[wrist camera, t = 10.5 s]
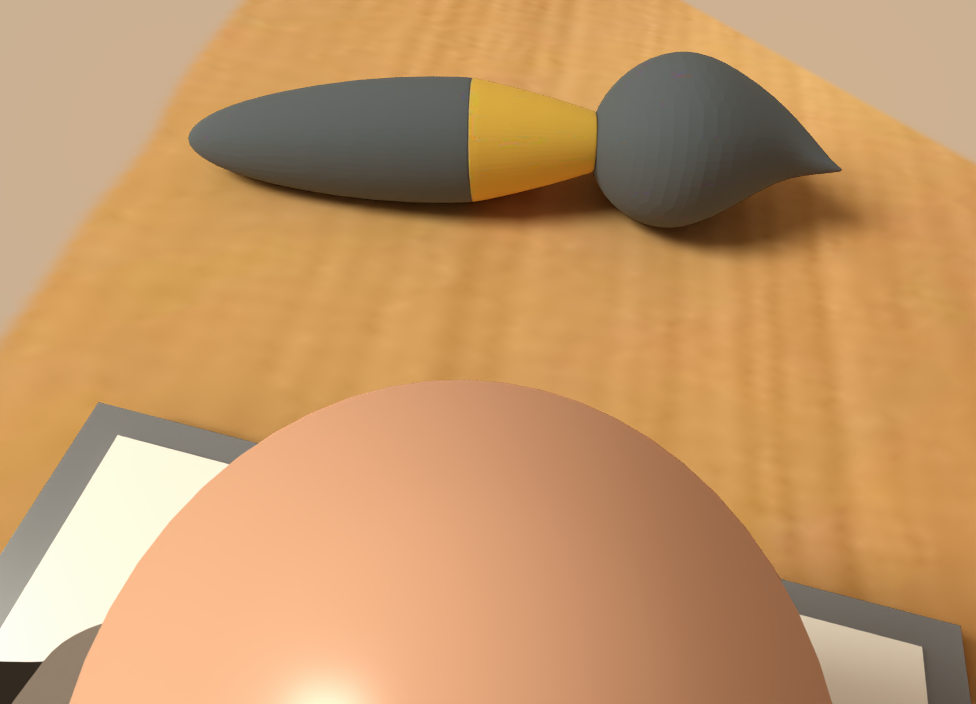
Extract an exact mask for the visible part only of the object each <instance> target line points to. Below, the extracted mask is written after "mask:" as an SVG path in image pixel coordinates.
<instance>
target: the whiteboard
mask: <svg viewBox="0 0 976 704" xmlns="http://www.w3.org/2000/svg"><path fill="white" fill-rule="evenodd" d="M257 444H258V443H254V442H250V441H246V440H242V439H239V438H235V437H231V436H227V435H223V434H219V433H215V432H212V431H208V430H204V429H200V428H196V427H192V426H188V425H185V424H181V423H177V422H173V421H169V420H165V419H161V418H158V417H154V416H150V415H146V414H142V413H138V412H134V411H131V410H127V409H123V408H119V407H115V406H111V405H107V404H104V403H100V402H98V404H97V405H96V407H95V409H94V410H93V412H92V413H91V415H90V416H89V418H88V419H87V421H86V423H85V424H84V426H83V427H82V429H81V430H80V432H79V433H78V435H77V436H76V438H75V440H74V441H73V443H72V444H71V446H70V447H69V449H68V450H67V452H66V454H65V455H64V457H63V458H62V460H61V461H60V463H59V464H58V466H57V468H56V469H55V471H54V472H53V474H52V475H51V477H50V478H49V480H48V482H47V483H46V485H45V486H44V488H43V489H42V491H41V492H40V494H39V495H38V497H37V499H36V500H35V502H34V503H33V505H32V506H31V508H30V509H29V511H28V513H27V514H26V516H25V517H24V519H23V520H22V522H21V523H20V525H19V527H18V528H17V530H16V531H15V533H14V534H13V536H12V537H11V539H10V541H9V542H8V544H7V545H6V547H5V548H4V550H3V551H2V553H1V555H0V661H8V662H40V661H44V660H45V659H46V658H47V657H48V655H49V654H50V653H51V652H52V651H53V650H54V649H55V648H57V647H58V646H59V645H60V644H61V643H63V642H64V641H66V640H67V639H69V638H71V637H72V636H74V635H76V634H78V633H80V632H82V631H84V630H86V629H88V628H91V627H94V626H96V625H99V624H102V623H103V621H104V619H105V617H106V615H107V613H108V611H109V609H110V607H111V605H112V604H113V602H114V601H115V599H116V597H117V596H118V594H119V593H120V591H121V589H122V588H123V586H124V584H125V583H126V581H127V580H128V578H129V576H130V575H131V573H132V571H133V570H134V568H135V567H136V565H137V563H138V562H139V561H140V559H141V558H142V557H143V555H144V554H145V553H146V552H147V550H148V549H149V548H150V546H151V545H152V544H153V542H154V541H155V540H156V539H157V537H158V536H159V535H160V533H161V532H162V531H163V530H164V528H165V527H166V526H167V524H168V523H169V522H170V521H171V520H172V519H173V518H174V517H175V516H176V514H177V513H178V512H179V511H180V510H181V509H182V508H183V507H184V506H185V505H186V504H187V503H188V502H189V501H190V500H191V499H192V498H193V497H194V496H195V495H196V494H197V492H198V491H199V490H200V489H201V488H202V487H203V486H204V485H206V484H207V483H208V482H209V481H210V480H212V479H213V478H214V477H215V476H216V475H217V474H219V473H220V472H221V471H222V470H223V469H225V468H226V467H227V466H228V465H229V464H230V463H232V462H233V461H234V460H235V459H236V458H238V457H239V456H240V455H242V454H243V453H245V452H246V451H248V450H249V449H251V448H252V447H254V446H255V445H257ZM780 580H781V582H782V583H783V585H784V587H785V589H786V591H787V592H788V594H789V596H790V598H791V600H792V602H793V603H794V605H795V607H796V609H797V611H798V612H799V615H800V617H801V619H802V622H803V624H804V627H805V629H806V631H807V634H808V636H809V638H810V641H811V643H812V645H813V648H814V650H815V652H816V655H817V657H818V659H819V662H820V665H821V669H822V672H823V675H824V678H825V682H826V685H827V688H828V691H829V695H830V698H831V701H832V704H971V699H970V692H969V685H968V677H967V670H966V663H965V655H964V648H963V641H962V633H961V626H959V625H955V624H951V623H948V622H944V621H940V620H936V619H932V618H928V617H924V616H921V615H917V614H913V613H909V612H905V611H901V610H897V609H894V608H890V607H886V606H882V605H878V604H874V603H870V602H867V601H863V600H859V599H855V598H851V597H847V596H843V595H840V594H836V593H832V592H828V591H824V590H820V589H817V588H813V587H809V586H805V585H801V584H797V583H793V582H790V581H786V580H782V579H780Z"/></svg>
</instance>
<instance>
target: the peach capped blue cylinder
mask: <svg viewBox="0 0 976 704" xmlns="http://www.w3.org/2000/svg"><path fill="white" fill-rule="evenodd" d="M69 704H832V701H831V698H830V695H829V691H828V688H827V685H826V682H825V678H824V675H823V672H822V669H821V665H820V662H819V659H818V657H817V655H816V652H815V650H814V648H813V645H812V643H811V641H810V638H809V636H808V634H807V631H806V629H805V627H804V624H803V622H802V619H801V617H800V615H799V612H798V611H797V609H796V607H795V605H794V603H793V602H792V600H791V598H790V596H789V594H788V592H787V591H786V589H785V587H784V585H783V583H782V582H781V580H780V578H779V576H778V574H777V573H776V571H775V569H774V567H773V566H772V564H771V563H770V562H769V560H768V559H767V557H766V556H765V554H764V553H763V552H762V550H761V549H760V547H759V546H758V544H757V543H756V542H755V540H754V539H753V537H752V536H751V534H750V533H749V531H748V530H747V529H746V527H745V526H744V525H743V524H742V523H741V522H740V520H739V519H738V518H737V517H736V516H735V515H734V514H733V512H732V511H731V510H730V509H729V508H728V507H727V506H726V504H725V503H724V502H723V501H722V500H721V499H720V497H719V496H718V495H717V494H716V493H715V492H714V491H713V490H712V489H711V488H710V487H709V486H707V485H706V484H705V483H704V482H703V481H702V480H701V479H700V478H699V477H698V476H697V475H696V474H695V473H693V472H692V471H691V470H690V469H689V468H688V467H687V466H686V465H685V464H684V463H682V462H681V461H680V460H678V459H677V458H676V457H674V456H673V455H672V454H670V453H669V452H668V451H666V450H665V449H664V448H662V447H661V446H660V445H658V444H657V443H656V442H654V441H653V440H652V439H650V438H649V437H647V436H645V435H643V434H642V433H640V432H638V431H637V430H635V429H633V428H631V427H630V426H628V425H626V424H625V423H623V422H621V421H620V420H618V419H616V418H614V417H612V416H610V415H608V414H605V413H603V412H601V411H599V410H596V409H594V408H592V407H590V406H587V405H585V404H583V403H581V402H578V401H575V400H572V399H569V398H565V397H562V396H559V395H556V394H553V393H550V392H547V391H543V390H539V389H534V388H529V387H524V386H519V385H514V384H508V383H502V382H489V381H477V380H443V381H425V382H418V383H411V384H405V385H398V386H392V387H387V388H383V389H379V390H376V391H372V392H368V393H364V394H361V395H357V396H353V397H350V398H347V399H345V400H342V401H340V402H337V403H335V404H332V405H330V406H327V407H325V408H322V409H319V410H317V411H314V412H312V413H310V414H308V415H306V416H304V417H303V418H301V419H299V420H297V421H295V422H293V423H291V424H289V425H287V426H285V427H284V428H282V429H280V430H278V431H276V432H274V433H273V434H271V435H270V436H268V437H267V438H265V439H264V440H262V441H261V442H260V443H258V444H257V445H255V446H254V447H252V448H251V449H249V450H248V451H246V452H245V453H243V454H242V455H240V456H239V457H238V458H236V459H235V460H234V461H233V462H232V463H230V464H229V465H228V466H227V467H226V468H225V469H223V470H222V471H221V472H220V473H219V474H217V475H216V476H215V477H214V478H213V479H212V480H210V481H209V482H208V483H207V484H206V485H204V486H203V487H202V488H201V489H200V490H199V491H198V492H197V494H196V495H195V496H194V497H193V498H192V499H191V500H190V501H189V502H188V503H187V504H186V505H185V506H184V507H183V508H182V509H181V510H180V511H179V512H178V513H177V514H176V516H175V517H174V518H173V519H172V520H171V521H170V522H169V523H168V524H167V526H166V527H165V528H164V530H163V531H162V532H161V533H160V535H159V536H158V537H157V539H156V540H155V541H154V542H153V544H152V545H151V546H150V548H149V549H148V550H147V552H146V553H145V554H144V555H143V557H142V558H141V559H140V561H139V562H138V563H137V565H136V567H135V568H134V570H133V571H132V573H131V575H130V576H129V578H128V580H127V581H126V583H125V584H124V586H123V588H122V589H121V591H120V593H119V594H118V596H117V597H116V599H115V601H114V602H113V604H112V605H111V607H110V609H109V611H108V613H107V615H106V617H105V619H104V621H103V623H102V625H101V627H100V629H99V632H98V634H97V636H96V638H95V640H94V642H93V644H92V646H91V648H90V650H89V652H88V654H87V656H86V659H85V661H84V664H83V666H82V669H81V672H80V675H79V678H78V680H77V683H76V686H75V689H74V692H73V694H72V697H71V700H70V703H69Z"/></svg>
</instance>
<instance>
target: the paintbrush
mask: <svg viewBox="0 0 976 704" xmlns="http://www.w3.org/2000/svg"><path fill="white" fill-rule="evenodd" d="M189 143H190V145H191V147H192V148H193V150H194V151H195V152H197V153H198V154H199V155H200V156H202V157H203V158H205V159H206V160H208V161H210V162H211V163H213V164H215V165H217V166H220V167H222V168H224V169H227V170H229V171H232V172H235V173H237V174H240V175H243V176H247V177H250V178H253V179H257V180H261V181H265V182H269V183H273V184H277V185H282V186H286V187H291V188H296V189H301V190H307V191H313V192H319V193H325V194H331V195H338V196H346V197H355V198H363V199H372V200H385V201H400V202H424V203H465V202H472V201H473V202H475V201H482V200H486V199H491V198H496V197H500V196H505V195H510V194H514V193H518V192H522V191H526V190H530V189H534V188H538V187H542V186H547V185H550V184H554V183H557V182H561V181H564V180H568V179H571V178H575V177H578V176H581V175H585V174H588V173H591V172H593V175H594V177H595V179H596V182H597V184H598V185H599V187H600V189H601V190H602V192H603V193H604V195H605V196H606V197H607V198H608V200H609V201H610V202H611V203H612V204H613V205H614V206H615V207H616V208H617V209H619V210H620V211H621V212H623V213H624V214H625V215H627V216H628V217H630V218H632V219H634V220H636V221H638V222H641V223H644V224H647V225H651V226H656V227H667V228H671V227H681V226H685V225H689V224H693V223H697V222H699V221H702V220H705V219H707V218H710V217H712V216H714V215H716V214H718V213H720V212H722V211H724V210H726V209H728V208H730V207H732V206H734V205H735V204H737V203H739V202H741V201H742V200H744V199H746V198H748V197H750V196H751V195H753V194H755V193H757V192H759V191H761V190H763V189H764V188H766V187H768V186H771V185H773V184H775V183H777V182H780V181H783V180H787V179H790V178H795V177H800V176H806V175H813V174H824V173H832V172H839V171H841V170H842V169H841V168H840V167H838V166H837V165H836V164H835V163H834V162H833V161H832V160H831V159H830V158H829V157H828V155H827V154H826V153H825V152H824V151H823V150H822V148H821V147H820V146H819V145H818V144H817V142H816V141H815V140H814V139H813V137H812V136H811V135H810V134H809V133H808V132H807V131H806V129H805V128H804V127H803V126H802V125H801V124H800V123H799V121H798V120H797V119H796V118H795V117H794V116H793V115H792V114H791V113H790V112H789V111H788V110H787V109H786V108H785V107H784V106H783V105H782V104H781V103H780V102H779V101H778V100H777V99H776V98H775V97H773V96H772V95H771V94H770V93H768V92H767V91H766V90H765V89H763V88H762V87H761V86H760V85H758V84H757V83H756V82H754V81H753V80H751V79H750V78H748V77H747V76H745V75H744V74H743V73H741V72H740V71H738V70H736V69H735V68H733V67H731V66H729V65H728V64H726V63H724V62H722V61H719V60H717V59H715V58H713V57H709V56H706V55H702V54H699V53H693V52H674V53H668V54H663V55H660V56H657V57H654V58H651V59H649V60H647V61H645V62H643V63H641V64H639V65H637V66H636V67H634V68H633V69H631V70H630V71H629V72H627V73H626V74H625V75H624V76H623V77H621V78H620V79H619V80H618V81H617V82H616V83H615V84H614V85H613V87H612V88H611V89H610V90H609V91H608V93H607V94H606V95H605V97H604V99H603V100H602V102H601V104H600V105H599V107H598V109H597V111H596V112H594V111H591V110H588V109H585V108H582V107H579V106H576V105H573V104H570V103H567V102H564V101H561V100H557V99H554V98H551V97H547V96H544V95H540V94H536V93H533V92H529V91H526V90H522V89H518V88H515V87H510V86H506V85H502V84H498V83H494V82H489V81H485V80H481V79H475V78H473V79H472V78H466V77H395V78H381V79H367V80H355V81H348V82H340V83H332V84H324V85H317V86H311V87H306V88H300V89H295V90H289V91H284V92H279V93H275V94H271V95H266V96H262V97H259V98H255V99H251V100H248V101H244V102H241V103H238V104H235V105H232V106H229V107H227V108H224V109H222V110H219V111H217V112H215V113H213V114H211V115H209V116H208V117H206V118H204V119H203V120H201V121H200V122H199V123H198V124H196V125H195V126H194V127H193V129H192V130H191V132H190V134H189Z"/></svg>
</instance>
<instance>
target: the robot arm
mask: <svg viewBox="0 0 976 704" xmlns="http://www.w3.org/2000/svg"><path fill="white" fill-rule="evenodd" d="M101 625H102V624H99V625H96V626H94V627H91V628H88V629H86V630H84V631H82V632H80V633H78V634H76V635H74V636H72V637H71V638H69V639H67V640H66V641H64V642H63V643H61V644H60V645H59V646H58V647H57V648H55V649H54V650H53V651H52V652H51V653H50V654H49V655H48V657H47V658H46V659H45V660H44V661H40V662H8V661H0V704H69V703H70V700H71V697H72V694H73V692H74V689H75V686H76V683H77V680H78V678H79V675H80V672H81V669H82V666H83V664H84V661H85V659H86V656H87V654H88V652H89V650H90V648H91V646H92V644H93V642H94V640H95V638H96V636H97V634H98V632H99V629H100V627H101Z"/></svg>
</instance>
